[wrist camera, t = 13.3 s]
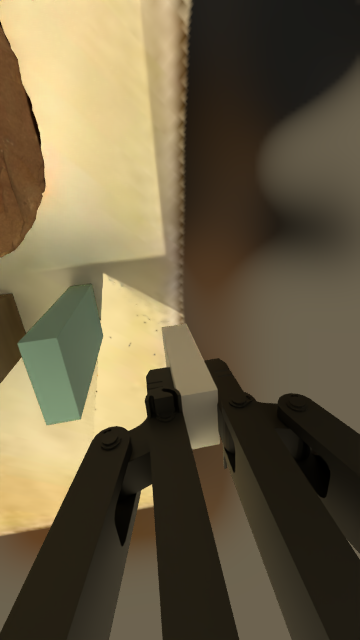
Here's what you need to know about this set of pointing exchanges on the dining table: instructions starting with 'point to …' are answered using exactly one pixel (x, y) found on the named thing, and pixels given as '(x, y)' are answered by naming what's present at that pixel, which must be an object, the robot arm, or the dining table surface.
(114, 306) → the dining table surface
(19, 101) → the stone
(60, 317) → the tile
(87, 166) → the dining table surface
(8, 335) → the tile
